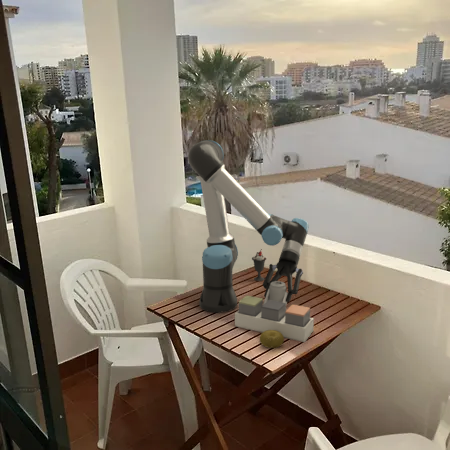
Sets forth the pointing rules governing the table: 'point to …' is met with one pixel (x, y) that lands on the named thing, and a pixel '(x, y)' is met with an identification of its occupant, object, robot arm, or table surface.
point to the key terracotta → (297, 315)
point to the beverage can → (277, 291)
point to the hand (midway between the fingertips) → (273, 307)
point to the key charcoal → (273, 310)
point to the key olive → (250, 305)
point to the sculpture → (271, 338)
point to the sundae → (259, 264)
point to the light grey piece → (274, 326)
